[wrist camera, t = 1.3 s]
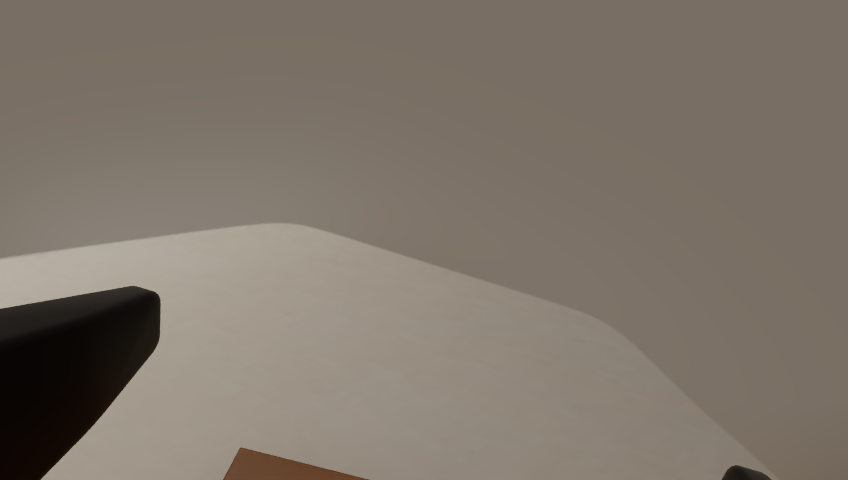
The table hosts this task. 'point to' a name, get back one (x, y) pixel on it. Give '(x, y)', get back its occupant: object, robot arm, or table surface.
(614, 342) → the table surface
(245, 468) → the grid board
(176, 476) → the table surface
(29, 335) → the robot arm
